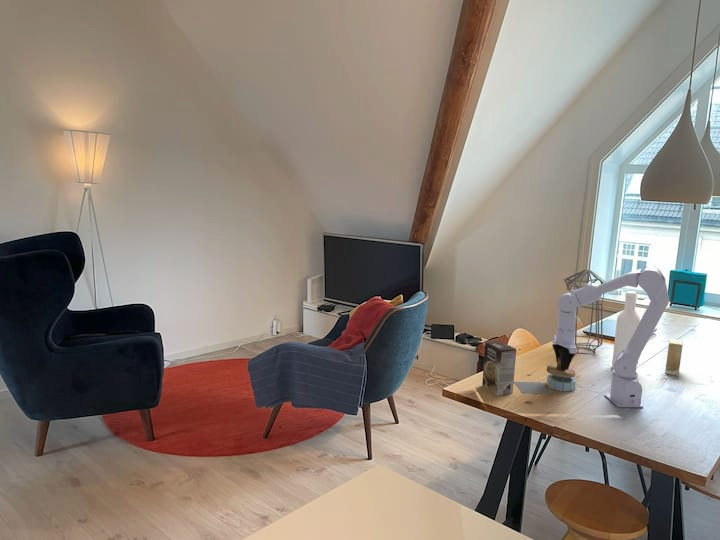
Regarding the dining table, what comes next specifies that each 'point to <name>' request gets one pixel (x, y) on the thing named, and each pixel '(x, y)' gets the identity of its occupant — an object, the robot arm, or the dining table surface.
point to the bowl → (561, 383)
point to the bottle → (625, 324)
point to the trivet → (533, 387)
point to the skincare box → (674, 357)
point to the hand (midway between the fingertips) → (562, 367)
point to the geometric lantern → (582, 274)
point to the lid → (560, 370)
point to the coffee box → (499, 367)
